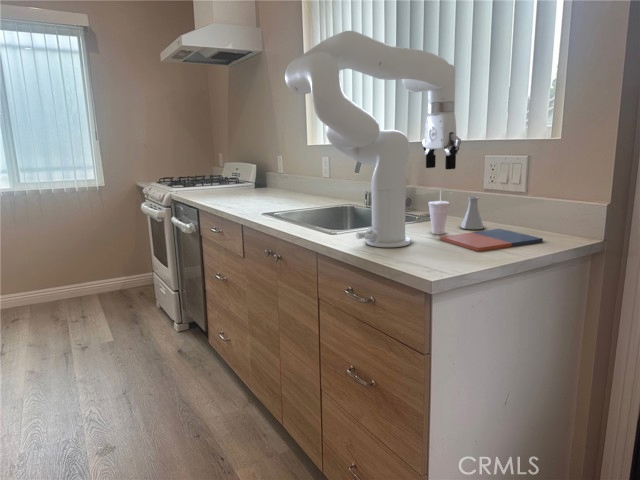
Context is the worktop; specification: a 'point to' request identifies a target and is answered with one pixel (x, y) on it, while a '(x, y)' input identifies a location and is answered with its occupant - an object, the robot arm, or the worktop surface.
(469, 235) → the sorting board
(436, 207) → the smoothie
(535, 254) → the worktop surface
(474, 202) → the flask
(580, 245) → the worktop surface
